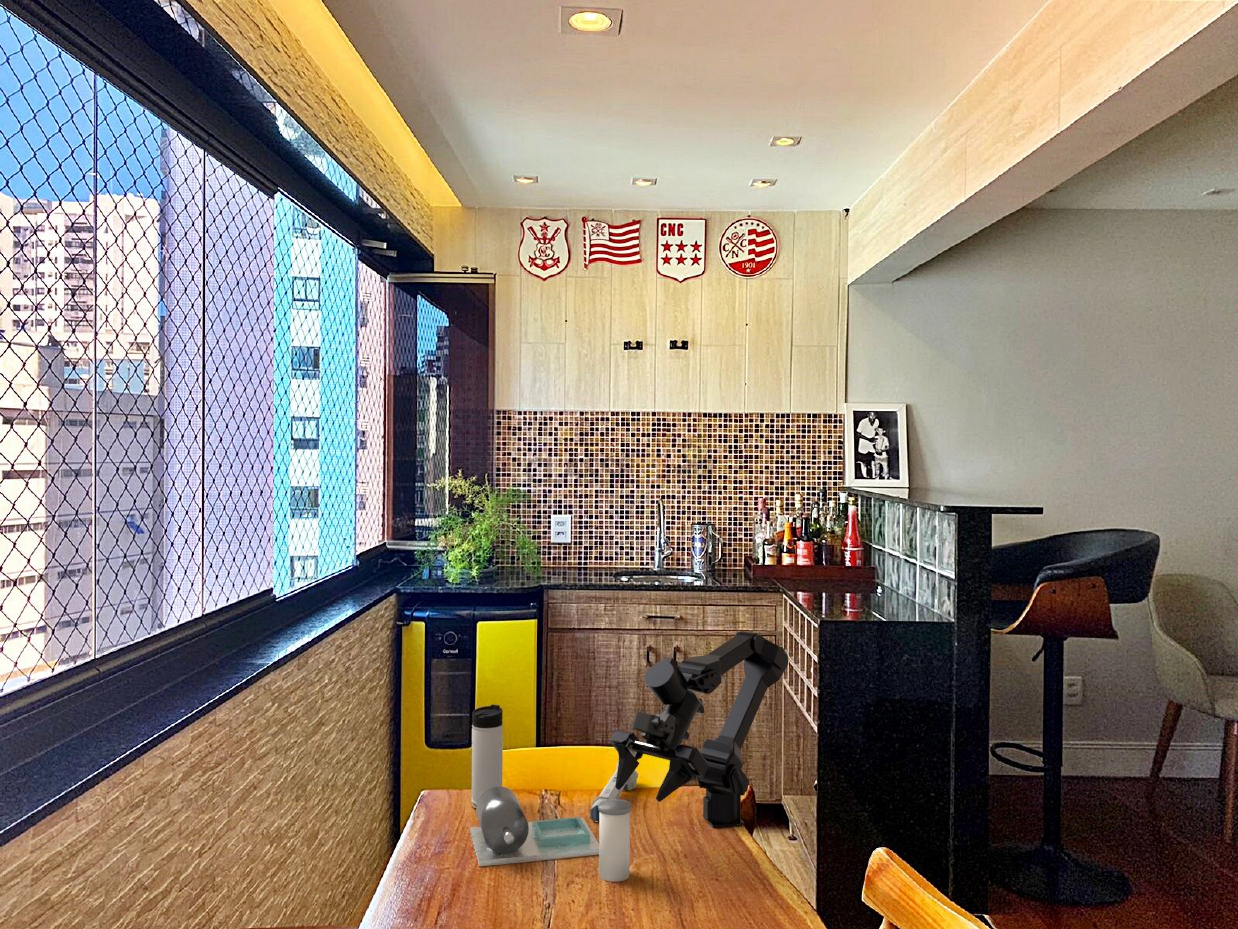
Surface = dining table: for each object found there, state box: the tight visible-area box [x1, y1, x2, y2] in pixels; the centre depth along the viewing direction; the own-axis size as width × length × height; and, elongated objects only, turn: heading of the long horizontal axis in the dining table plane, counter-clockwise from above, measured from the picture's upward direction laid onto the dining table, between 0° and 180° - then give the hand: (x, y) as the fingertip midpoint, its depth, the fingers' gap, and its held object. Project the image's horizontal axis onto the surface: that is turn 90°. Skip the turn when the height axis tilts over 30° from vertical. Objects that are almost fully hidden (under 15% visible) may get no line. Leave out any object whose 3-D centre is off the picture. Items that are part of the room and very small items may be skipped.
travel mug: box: [471, 704, 504, 807], centre depth 196 cm, size 6×7×20 cm
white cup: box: [598, 798, 632, 883], centre depth 162 cm, size 6×6×12 cm
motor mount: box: [469, 786, 599, 867], centre depth 175 cm, size 22×18×9 cm
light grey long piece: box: [589, 760, 639, 822], centre depth 198 cm, size 5×7×25 cm
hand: (637, 794), depth 167 cm, fingers open, 9 cm apart
